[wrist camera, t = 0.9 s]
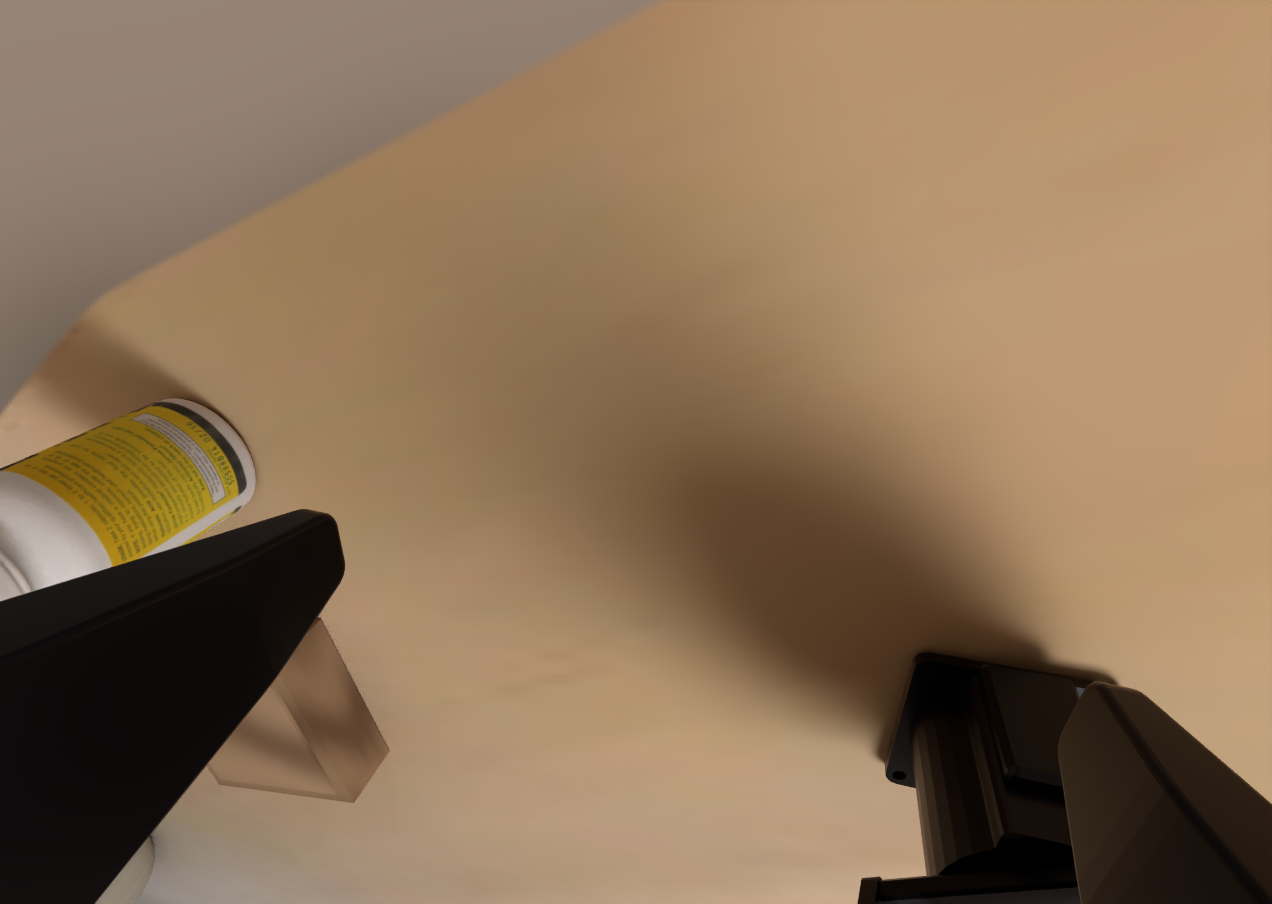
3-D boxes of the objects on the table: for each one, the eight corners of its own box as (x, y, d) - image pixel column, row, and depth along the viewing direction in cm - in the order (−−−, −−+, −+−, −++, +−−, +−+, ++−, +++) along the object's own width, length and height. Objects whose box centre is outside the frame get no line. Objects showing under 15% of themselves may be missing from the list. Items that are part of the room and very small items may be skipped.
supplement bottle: (159, 368, 26) (-161, 492, 18) (274, 447, 26) (13, 605, 18) (142, 458, 29) (-140, 602, 20) (246, 528, 29) (10, 698, 21)
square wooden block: (389, 751, 34) (352, 805, 32) (261, 738, 37) (217, 787, 35) (320, 619, 31) (271, 668, 28) (184, 616, 34) (128, 660, 31)
